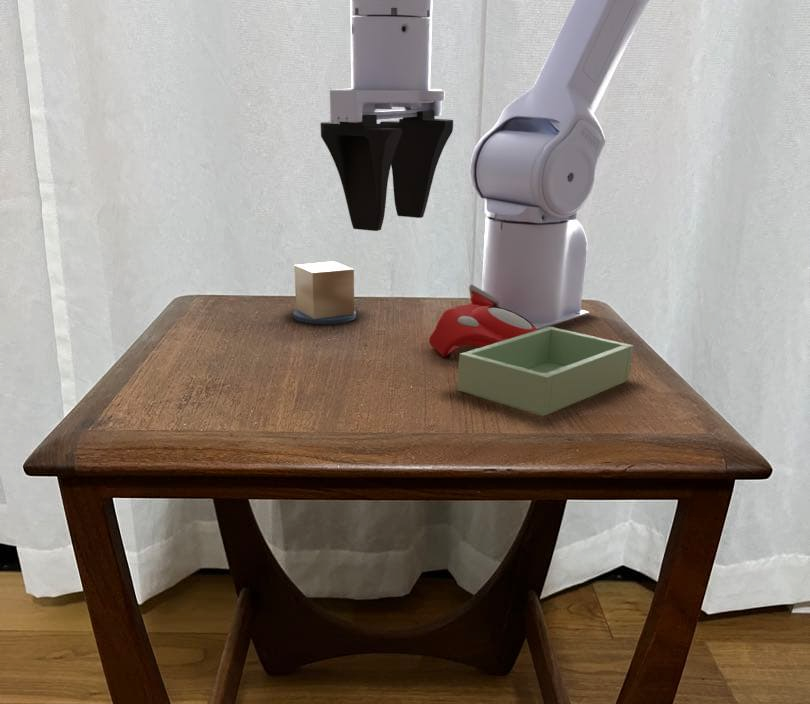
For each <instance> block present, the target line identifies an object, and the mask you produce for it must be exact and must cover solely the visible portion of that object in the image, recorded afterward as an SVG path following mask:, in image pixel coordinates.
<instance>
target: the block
mask: <svg viewBox="0 0 810 704" xmlns="http://www.w3.org/2000/svg"><path fill="white" fill-rule="evenodd" d="M293 267H294V269H293V270H294V288H295V289H294V290H295V291H294V292H295V294H294V295H295V311H296V310H298V311H300V312H302V313H303V314H305V315H307V316H309V317H311V318H313V319H321V318H330V317H338V316H347V315H354V311H355V269H354V268H352V267H349V266H347V265H345V264H342V263H339V262H337V261H322V262H313V263H300V264H294V266H293Z"/></svg>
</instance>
